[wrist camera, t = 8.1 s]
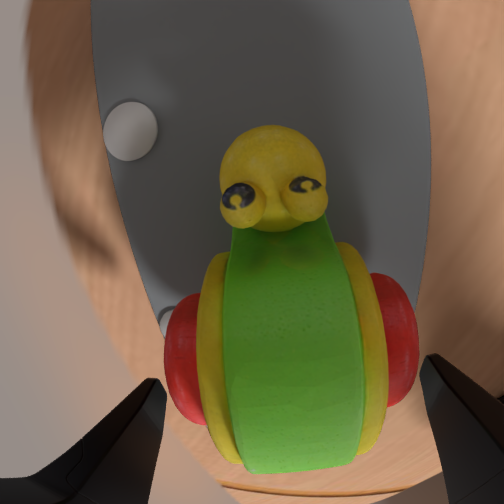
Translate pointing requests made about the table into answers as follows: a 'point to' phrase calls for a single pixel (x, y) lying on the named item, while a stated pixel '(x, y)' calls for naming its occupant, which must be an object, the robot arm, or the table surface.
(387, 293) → the toy measuring tape
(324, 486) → the table surface
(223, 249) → the marked mat
